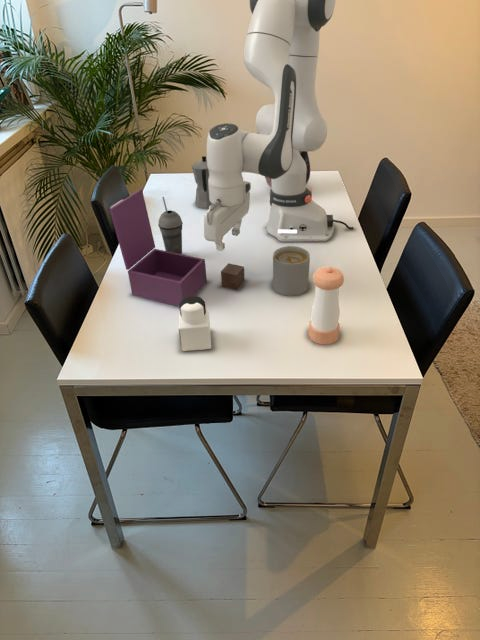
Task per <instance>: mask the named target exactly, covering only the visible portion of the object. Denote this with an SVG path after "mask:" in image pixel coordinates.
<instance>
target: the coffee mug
mask: <svg viewBox="0 0 480 640" xmlns="http://www.w3.org/2000/svg"><path fill="white" fill-rule="evenodd" d="M310 258H311V255H310V252H309V251H308V250H307V249H306V248H303V247H300V246H295V245H287V246H282V247H279V248H277V249H276V250H275V251H274V252H273V253H272V289H273V290H274V291H275V292H276V293H278V294H280V295H283V296H289V297H291V296H292V297H293V296H294V297H295V296H300V295H302V294H304V293H305V292H306V291H307V290H308V289H309V280H310V279H309V277H310V260H311V259H310Z"/></svg>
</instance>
